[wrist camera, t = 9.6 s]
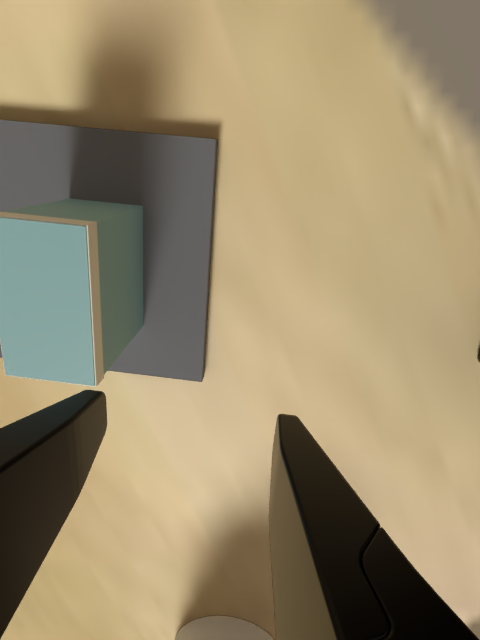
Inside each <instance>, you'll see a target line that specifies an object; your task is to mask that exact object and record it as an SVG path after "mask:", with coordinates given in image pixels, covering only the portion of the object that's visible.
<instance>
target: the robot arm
mask: <svg viewBox="0 0 480 640" xmlns="http://www.w3.org/2000/svg"><path fill="white" fill-rule="evenodd" d="M478 361H479V362H480V350H479V353H478ZM106 428H107V409H106V396H105V394H104V393H103V392H102V391H94V390H84V391H82V392H80V393H78V394H75V395H73V396H71V397H69V398H67V399H64V400H62V401H60V402H58V403H55V404H53V405H51V406H49V407H47V408H44V409H42V410H40V411H38V412H36V413H33V414H31V415H29V416H27V417H25V418H22V419H20V420H18V421H16V422H14V423H11V424H9V425H7V426H5V427H2V428H0V639H1V637H2V635H3V633H4V631H5V630H6V628H7V626H8V624H9V622H10V621H11V619H12V617H13V615H14V613H15V611H16V610H17V608H18V606H19V604H20V602H21V601H22V599H23V597H24V595H25V593H26V591H27V590H28V588H29V586H30V584H31V582H32V581H33V579H34V577H35V575H36V573H37V571H38V570H39V568H40V566H41V564H42V562H43V560H44V559H45V557H46V555H47V553H48V551H49V550H50V548H51V546H52V544H53V542H54V540H55V539H56V537H57V535H58V533H59V531H60V530H61V528H62V526H63V524H64V522H65V520H66V519H67V517H68V515H69V513H70V511H71V510H72V508H73V506H74V504H75V502H76V500H77V498H78V496H79V494H80V492H81V490H82V488H83V486H84V483H85V481H86V478H87V476H88V474H89V471H90V469H91V466H92V464H93V461H94V459H95V457H96V454H97V452H98V449H99V447H100V445H101V442H102V440H103V437H104V435H105V432H106ZM269 536H270V551H271V567H272V583H273V598H274V614H275V629H276V640H479V639H478V638H477V636H476V635H475V634H474V633H473V632H472V631H471V630H470V629H469V628H468V627H467V626H466V625H465V623H464V622H463V621H462V620H461V619H460V618H459V617H458V616H457V615H456V614H455V613H454V612H453V610H452V609H451V608H450V607H449V606H448V605H447V604H446V603H445V602H444V601H443V600H442V598H441V597H440V596H439V595H438V594H437V593H436V592H435V591H434V589H433V588H432V587H431V586H430V585H429V584H428V583H427V582H426V580H425V579H424V578H423V577H422V576H421V575H420V574H419V572H418V571H417V570H416V569H415V568H414V567H413V565H412V564H411V563H410V562H409V560H408V559H407V558H406V557H405V555H404V554H403V553H402V552H401V551H400V549H399V548H398V547H397V546H396V544H395V543H394V542H393V540H392V539H391V538H390V537H389V535H388V534H387V533H386V531H385V530H384V529H383V528H380V524H379V522H378V521H377V520H376V519H375V517H374V516H373V515H372V513H371V512H370V511H369V509H368V508H367V507H366V505H365V504H364V503H363V502H362V500H361V499H360V498H359V496H358V495H357V494H356V492H355V491H354V490H353V489H352V487H351V486H350V485H349V483H348V482H347V481H346V479H345V478H344V477H343V475H342V474H341V473H340V472H339V470H338V469H337V468H336V466H335V465H334V464H333V462H332V461H331V460H330V459H329V457H328V456H327V455H326V453H325V452H324V451H323V449H322V448H321V447H320V445H319V444H318V443H317V442H316V440H315V439H314V438H313V436H312V435H311V434H310V432H309V431H308V430H307V429H306V427H305V426H304V425H303V423H302V422H301V421H300V419H299V418H298V417H297V416H295V415H287V414H279V415H278V417H277V422H276V429H275V436H274V443H273V452H272V467H271V484H270V501H269Z"/></svg>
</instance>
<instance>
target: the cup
mask: <svg viewBox="0 0 480 640" xmlns="http://www.w3.org/2000/svg"><path fill="white" fill-rule="evenodd" d="M175 640H274V639H273V638H272V637H271V636H270V635H269V634H268V633H267V632H266V631H265V630H263V629H262V628H260V627H259V626H257V625H255V624H253V623H251V622H248V621H246V620H243V619H239V618H235V617H229V616H208V617H202V618H198V619H195V620H193V621H191V622H189V623H187V624H186V625H184V626H183V627H182V628H181V629H180V630H179V631H178V633H177V635H176V637H175Z"/></svg>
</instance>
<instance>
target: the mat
mask: <svg viewBox="0 0 480 640" xmlns="http://www.w3.org/2000/svg"><path fill="white" fill-rule="evenodd" d="M217 144H218V140H217V139H208V138H197V137H186V136H175V135H164V134H153V133H142V132H131V131H120V130H109V129H98V128H87V127H76V126H65V125H54V124H43V123H32V122H21V121H10V120H0V212H2V211H8V210H13V209H18V208H23V207H28V206H33V205H38V204H43V203H48V202H53V201H58V200H63V199H68V198H71V199H81V200H90V201H100V202H110V203H120V204H129V205H139V206H143V327H142V328H141V329H140V330H139V332H138V333H137V334H136V335H135V337H134V338H133V339H132V340H131V342H130V343H129V344H128V345H127V347H126V348H125V349H124V350H123V352H122V353H121V354H120V355H119V357H118V358H117V359H116V360H115V361H114V363H113V364H112V365H111V366H110V368H109V369H108V371H116V372H124V373H132V374H141V375H149V376H157V377H165V378H173V379H182V380H190V381H198V382H202V380H203V377H204V364H205V347H206V330H207V313H208V296H209V279H210V263H211V246H212V229H213V212H214V195H215V178H216V161H217ZM0 357H1V358H3V356H2V350H1V343H0Z"/></svg>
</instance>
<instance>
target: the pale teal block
mask: <svg viewBox="0 0 480 640" xmlns="http://www.w3.org/2000/svg"><path fill="white" fill-rule="evenodd" d="M142 327H143V206H139V205H129V204H120V203H110V202H100V201H90V200H81V199H71V198H68V199H63V200H58V201H53V202H48V203H43V204H38V205H33V206H28V207H23V208H18V209H13V210H8V211H2V212H0V343H1V350H2V356H3V363H4V370H5V375H7V376H14V377H22V378H30V379H38V380H46V381H54V382H62V383H70V384H78V385H86V386H94V387H97V386H98V384H99V383H100V382H101V381H102V379H103V378H104V374H105V373H106V371H107V370H108V369H109V368H110V366H111V365H112V364H113V363H114V361H115V360H116V359H117V358H118V357H119V355H120V354H121V353H122V352H123V350H124V349H125V348H126V347H127V345H128V344H129V343H130V342H131V340H132V339H133V338H134V337H135V335H136V334H137V333H138V332H139V330H140V329H141V328H142Z"/></svg>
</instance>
